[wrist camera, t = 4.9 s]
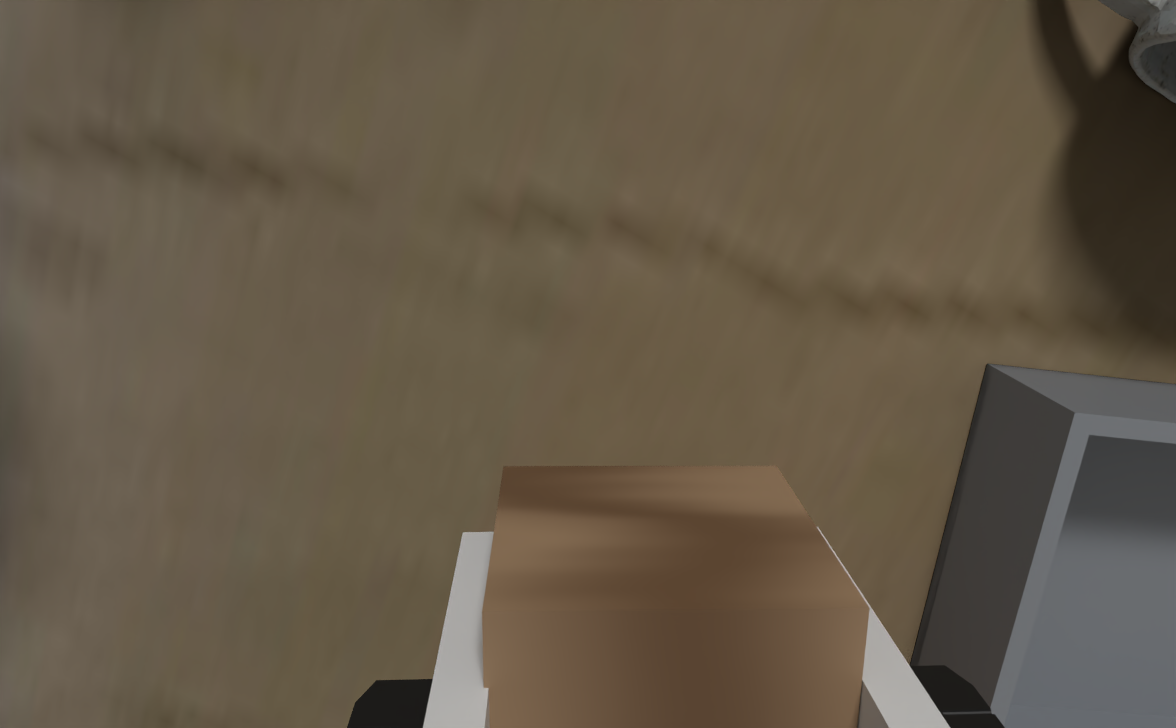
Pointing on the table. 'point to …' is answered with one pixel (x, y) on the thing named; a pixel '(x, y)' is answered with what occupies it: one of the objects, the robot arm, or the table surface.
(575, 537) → the walnut cube
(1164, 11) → the ceramic mug
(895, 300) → the table surface
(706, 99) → the table surface
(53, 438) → the table surface
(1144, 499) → the tote
